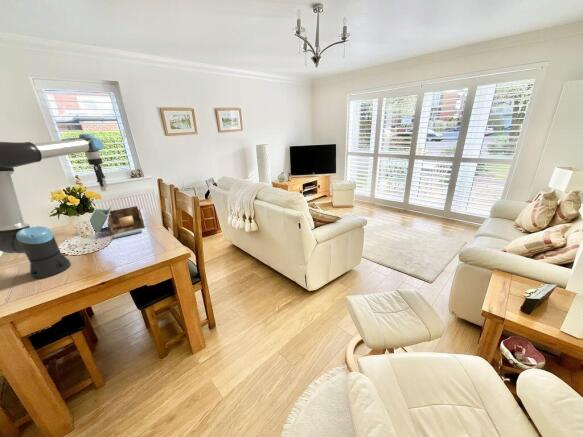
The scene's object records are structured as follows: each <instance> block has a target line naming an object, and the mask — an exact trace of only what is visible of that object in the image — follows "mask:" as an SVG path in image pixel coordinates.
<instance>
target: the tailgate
mask: <svg viewBox="0 0 583 437" xmlns="http://www.w3.org/2000/svg"><path fill="white" fill-rule="evenodd" d="M142 232H143V229H142V228H140V229H136V230H131V231H127V232H123V233H118V234H114V235H113V238H114V239H117V238H121V237H125V236H129V235H134V234H137V233H142Z"/></svg>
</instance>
